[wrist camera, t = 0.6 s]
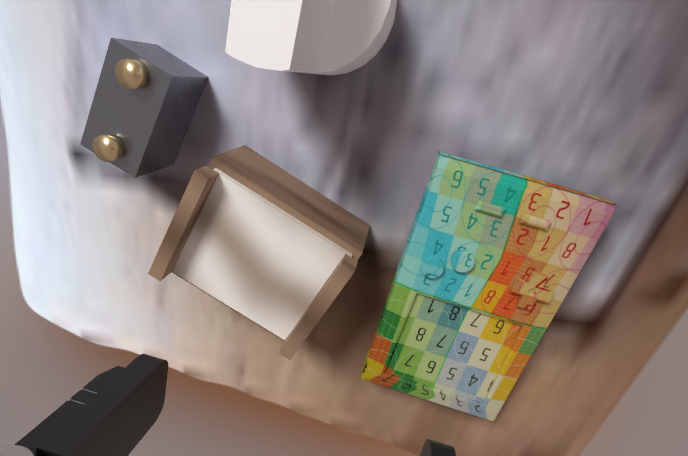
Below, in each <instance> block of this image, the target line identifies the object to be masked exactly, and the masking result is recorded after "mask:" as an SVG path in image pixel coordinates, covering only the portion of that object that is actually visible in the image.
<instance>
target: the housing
mask: <svg viewBox="0 0 688 456" xmlns="http://www.w3.org/2000/svg"><path fill="white" fill-rule="evenodd" d="M207 79H208V77H207V76H206V75H204V74H202V73H201V72H199V71H198V70H196V69H194V68H193V67H191V66H190V65H188V64H187V63H185V62H183V61H182V60H180V59H179V58H177V57H176V56H174V55H172V54H171V53H169V52H168V51H166V50H165V49H163V48H161V47H160V46H158V45H156V44H149V43H142V42H136V41H129V40H122V39H116V38H111V40H110V43H109V47H108V50H107V54H106V57H105V61H104V64H103V68H102V71H101V75H100V78H99V82H98V85H97V88H96V92H95V95H94V99H93V102H92V106H91V109H90V113H89V116H88V120H87V123H86V127H85V130H84V133H83V137H82V140H81V145H82V146H84V147H86V148H87V149H89V150H90V151H92V152H94V153H95V155H96V156H97V157H98V158H99V159H101V160H102V161H106V162H110V163H112V164H113V165H115V166H117V167H118V168H120V169H122V170H123V171H125V172H127V173H128V174H130V175H132V176H133V177H135V178H136V177H139V176H141V175H144V174H147V173H150V172H153V171H156V170H159V169H162V168H164V167H167V166H170V165H173V163H174V161H175V158H176V156H177V153H178V151H179V148H180V146H181V144H182V141H183V139H184V136H185V134H186V131H187V129H188V126H189V124H190V121H191V119H192V116H193V114H194V111H195V109H196V106H197V104H198V101H199V99H200V96H201V94H202V92H203V89H204V87H205V84H206V82H207Z"/></svg>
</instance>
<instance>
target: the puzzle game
mask: <svg viewBox="0 0 688 456" xmlns="http://www.w3.org/2000/svg"><path fill="white" fill-rule="evenodd" d="M615 207H616V204H614V203H613V202H611V201H609V200H608V199H604V198H601V197H597V196H594V195H590V194H587V193H583V192H580V191H576V190H573V189H569V188H566V187H562V186H559V185H555V184H552V183H548V182H545V181H541V180H538V179H534V178H531V177H527V176H524V175H520V174H517V173H513V172H510V171H506V170H503V169H499V168H496V167H492V166H489V165H485V164H482V163H479V162H475V161H472V160H468V159H465V158H461V157H458V156H454V155H451V154H447V153H444V152H440V151H439V152H438V155H437V158H436V161H435V164H434V167H433V169H432V172H431V175H430V178H429V181H428V184H427V186H426V189H425V192H424V195H423V198H422V201H421V203H420V206H419V209H418V212H417V215H416V218H415V220H414V223H413V226H412V229H411V232H410V235H409V237H408V240H407V243H406V246H405V249H404V252H403V254H402V257H401V260H400V263H399V266H398V268H397V271H396V274H395V277H394V280H393V283H392V285H391V288H390V291H389V294H388V297H387V300H386V302H385V305H384V308H383V311H382V314H381V317H380V319H379V322H378V325H377V328H376V331H375V334H374V336H373V339H372V342H371V345H370V348H369V351H368V353H367V356H366V359H365V362H364V365H363V368H362V372H361V378H360V379H364V380H367V381H370V382H373V383H376V384H379V385H382V386H385V387H388V388H391V389H394V390H398V391H401V392H404V393H407V394H410V395H413V396H416V397H419V398H422V399H425V400H428V401H431V402H435V403H438V404H441V405H444V406H447V407H450V408H453V409H456V410H459V411H462V412H465V413H469V414H472V415H475V416H478V417H481V418H484V419H487V420H490V421H493V422H494V420H495V418H496V417H497V415H498V413H499V411H500V410H501V408H502V406H503V404H504V403H505V401H506V399H507V397H508V395H509V394H510V392H511V390H512V388H513V387H514V385H515V383H516V381H517V380H518V378H519V376H520V374H521V373H522V371H523V369H524V367H525V365H526V364H527V362H528V360H529V359H530V357H531V355H532V353H533V352H534V350H535V348H536V346H537V345H538V343H539V341H540V340H541V338H542V336H543V334H544V333H545V331H546V329H547V327H548V326H549V324H550V322H551V321H552V319H553V317H554V315H555V314H556V312H557V310H558V309H559V307H560V305H561V303H562V302H563V300H564V298H565V296H566V295H567V293H568V291H569V290H570V288H571V286H572V284H573V283H574V281H575V279H576V277H577V276H578V274H579V272H580V271H581V269H582V267H583V265H584V264H585V262H586V260H587V258H588V257H589V255H590V253H591V252H592V250H593V248H594V246H595V245H596V243H597V241H598V239H599V238H600V236H601V234H602V233H603V231H604V229H605V227H606V226H607V224H608V222H609V221H610V219H611V217H612V214H613V212H614V210H615Z"/></svg>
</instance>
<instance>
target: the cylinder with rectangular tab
mask: <svg viewBox="0 0 688 456" xmlns="http://www.w3.org/2000/svg"><path fill="white" fill-rule="evenodd" d="M396 6H397V0H232V1H231V9H230V18H229V26H228V34H227V42H226V50H225V52H227V53H228V54H229V55H230V56H232V57H233V58H236V59H238V60H240V61H243V62H245V63H247V64H249V65H252V66H254V67H256V68H263V69H271V70H278V71H288V72H299V73H310V74H321V75H339V74H345V73H349V72H351V71H353V70H356V69H358V68H360V67H362V66H364V65H365V64H366V63H367V62H368V61H370V60H371V59H372V58H373V57H374V56H376V55H377V53H378V52H379V50H380V49H381V48H382V46H383V45H384V43H385V42H386V41H387V39H388V36H389V34H390V31H391V29H392V26H393V24H394V19H395V13H396Z"/></svg>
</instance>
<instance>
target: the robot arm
mask: <svg viewBox="0 0 688 456" xmlns="http://www.w3.org/2000/svg"><path fill="white" fill-rule="evenodd" d="M167 372H168V362H167V361H166V360H163V359H159V358H156V357H153V356H149V355H146V354H141V355H139V356H138V357H137V358H136V359H135V360H133V361H132V362H131V363H130V364H129V365H128V366H127V367H126V368H123V367H120V366H117V367H114V368H112V369H110V370H108V371H106V372H104V373H102V374H100V375H98V376H97V377H95V378H94V379H93V380H92V381H91V382H89V383H88V384H87V385H86V386H85V387H84V388H83V390H80V391H79V392H77V393H76V394H75V395H74V396H73V397H71V399H70V401H67V402H65V403H64V404H63V405H62V406H61V407H59V408H58V409H57V410H56V411H55V412H53V413H52V414H51V415H50V416H49V417H47V418H46V419H45V420H44V421H43V422H41V423H40V424H39V425H38V426H37V427H35V428H34V429H33V430H32V431H31V432H29V433H28V434H27V435H26V436H25V437H23V438H22V439H21V440H20V441H19V442H17V443H16V444H15V445H6V446H0V456H128V455H129V453H130V452H131V451H132V450H133V449H134V447H135V446H136V445H137V444H138V442H139V441H140V440H141V439H142V438H143V436H144V435H145V434H146V433H147V432H148V430H149V429H150V428H151V426H152V425H153V424H154V423H155V421H156V420H157V418H158V417H159V414H160V412H161V410H162V408H163V404H164V399H165V391H166V382H167ZM420 456H456V454H455V450H454V448H453V447H452V446H449V445H446V444H442V443H439V442H436V441H432V440H429V439H427V440H426V441H425V443H424V446H423V449H422V452H421V454H420Z"/></svg>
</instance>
